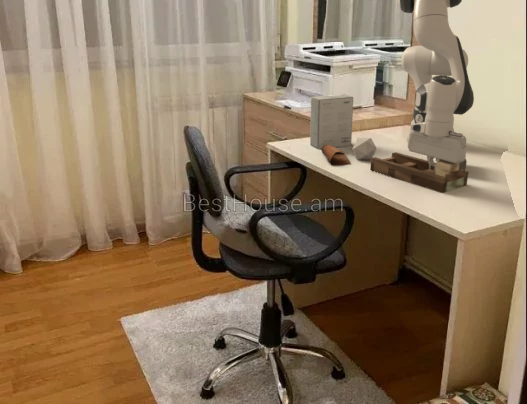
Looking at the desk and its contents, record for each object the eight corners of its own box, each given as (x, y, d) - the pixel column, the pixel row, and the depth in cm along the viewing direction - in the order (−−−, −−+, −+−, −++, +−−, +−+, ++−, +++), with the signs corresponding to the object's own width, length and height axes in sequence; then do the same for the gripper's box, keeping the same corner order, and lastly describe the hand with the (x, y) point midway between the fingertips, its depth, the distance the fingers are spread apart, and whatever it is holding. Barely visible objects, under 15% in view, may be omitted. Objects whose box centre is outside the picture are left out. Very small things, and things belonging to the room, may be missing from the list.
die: (369, 164, 210) (383, 142, 211) (349, 152, 210) (363, 130, 211) (365, 166, 219) (378, 145, 219) (346, 154, 219) (359, 133, 219)
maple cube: (444, 173, 188) (446, 159, 186) (457, 177, 184) (459, 162, 182) (434, 176, 185) (436, 161, 183) (447, 180, 181) (449, 165, 180)
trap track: (394, 164, 209) (395, 149, 207) (466, 184, 187) (468, 168, 185) (370, 170, 202) (371, 155, 200) (442, 192, 179) (444, 176, 177)
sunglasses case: (353, 164, 208) (344, 149, 206) (336, 174, 209) (327, 159, 207) (342, 151, 225) (334, 137, 223) (326, 160, 226) (318, 146, 224)
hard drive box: (342, 141, 240) (345, 93, 234) (351, 145, 234) (354, 96, 227) (309, 144, 235) (310, 96, 228) (317, 149, 229) (319, 99, 222)
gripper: (472, 133, 177) (467, 176, 182) (419, 121, 192) (415, 161, 197) (460, 136, 173) (455, 179, 178) (406, 124, 189) (403, 164, 193)
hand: (433, 170), depth 188 cm, fingers closed
